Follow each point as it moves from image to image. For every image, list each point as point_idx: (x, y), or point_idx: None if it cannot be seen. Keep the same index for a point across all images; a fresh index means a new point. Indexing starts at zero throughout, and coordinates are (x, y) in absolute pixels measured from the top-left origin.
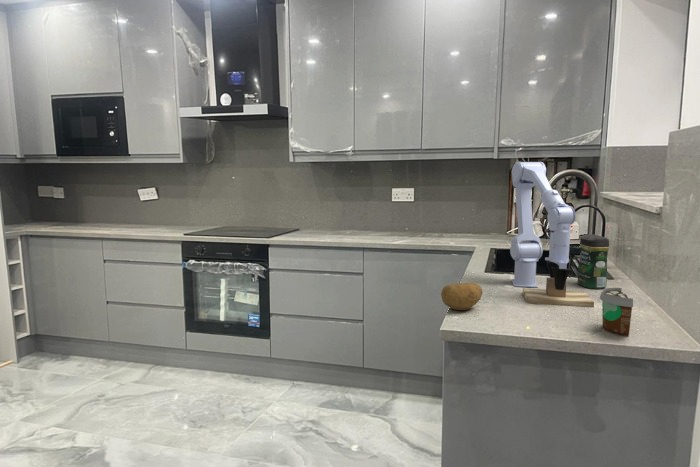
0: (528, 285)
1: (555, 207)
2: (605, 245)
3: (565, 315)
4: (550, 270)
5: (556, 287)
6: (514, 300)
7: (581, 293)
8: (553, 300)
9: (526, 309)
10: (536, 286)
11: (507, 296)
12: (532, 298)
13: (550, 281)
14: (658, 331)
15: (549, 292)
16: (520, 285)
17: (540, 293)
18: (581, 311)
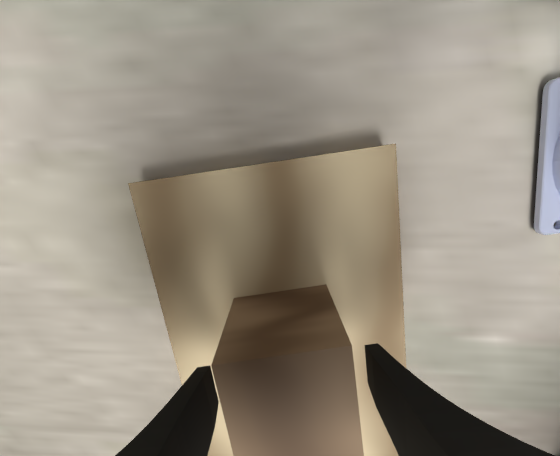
0: (554, 178)
1: None
2: None
3: (9, 350)
4: (419, 428)
5: (188, 380)
6: (170, 102)
7: (364, 444)
8: (166, 318)
9: (7, 178)
10: (538, 227)
11: (253, 50)
12: (139, 210)
13: (212, 369)
14: None
15: (229, 313)
16: (547, 124)
17: (288, 255)
18: (115, 410)
